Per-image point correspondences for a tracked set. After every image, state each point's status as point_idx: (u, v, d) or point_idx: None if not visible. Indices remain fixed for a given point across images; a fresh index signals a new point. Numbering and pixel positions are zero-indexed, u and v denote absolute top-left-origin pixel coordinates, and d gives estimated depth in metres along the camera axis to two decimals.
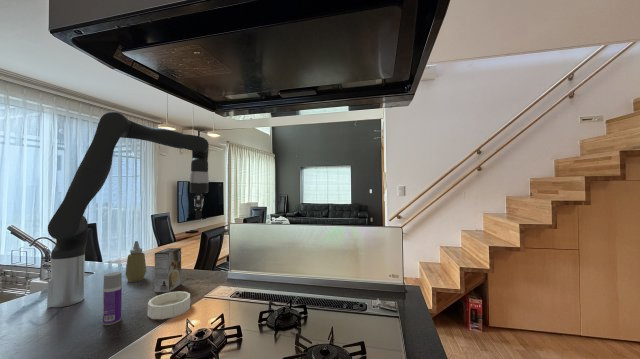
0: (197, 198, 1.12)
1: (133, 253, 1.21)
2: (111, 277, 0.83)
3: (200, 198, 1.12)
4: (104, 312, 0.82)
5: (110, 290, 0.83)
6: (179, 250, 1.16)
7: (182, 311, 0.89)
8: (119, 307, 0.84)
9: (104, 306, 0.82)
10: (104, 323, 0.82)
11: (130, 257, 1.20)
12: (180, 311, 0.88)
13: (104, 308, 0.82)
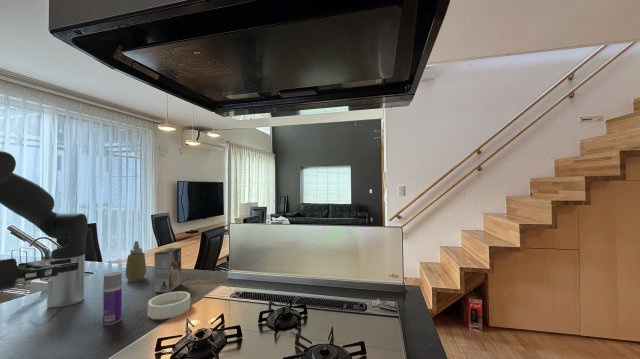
0: None
1: (133, 253, 1.21)
2: (111, 277, 0.83)
3: None
4: (104, 312, 0.82)
5: (110, 290, 0.83)
6: (179, 250, 1.16)
7: (182, 311, 0.89)
8: (119, 307, 0.84)
9: (104, 306, 0.82)
10: (104, 323, 0.82)
11: (130, 257, 1.20)
12: (180, 311, 0.88)
13: (104, 308, 0.82)
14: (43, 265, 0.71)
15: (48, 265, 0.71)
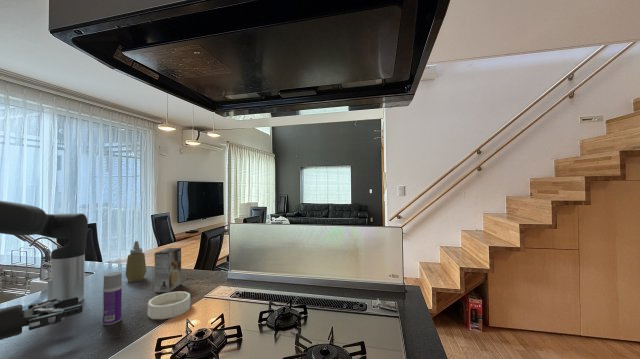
0: None
1: (133, 253, 1.21)
2: (111, 277, 0.83)
3: None
4: (104, 312, 0.82)
5: (110, 290, 0.83)
6: (179, 250, 1.16)
7: (182, 311, 0.89)
8: (119, 307, 0.84)
9: (104, 306, 0.82)
10: (104, 323, 0.82)
11: (130, 257, 1.20)
12: (180, 311, 0.88)
13: (104, 308, 0.82)
14: (48, 311, 0.71)
15: (53, 310, 0.72)
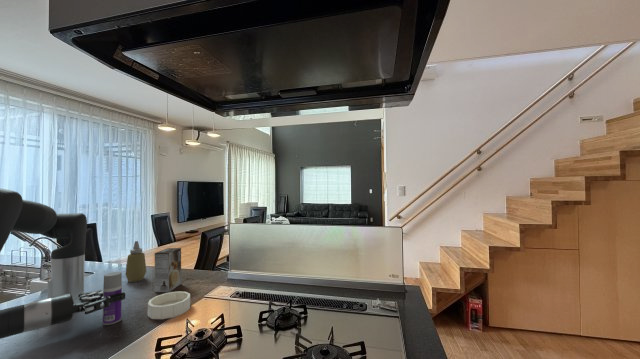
0: None
1: (133, 253, 1.21)
2: (111, 277, 0.83)
3: None
4: (104, 312, 0.82)
5: (110, 290, 0.83)
6: (179, 250, 1.16)
7: (182, 311, 0.89)
8: (119, 307, 0.84)
9: None
10: (104, 323, 0.82)
11: (130, 257, 1.20)
12: (180, 311, 0.88)
13: (104, 308, 0.82)
14: (96, 298, 0.80)
15: (100, 297, 0.80)
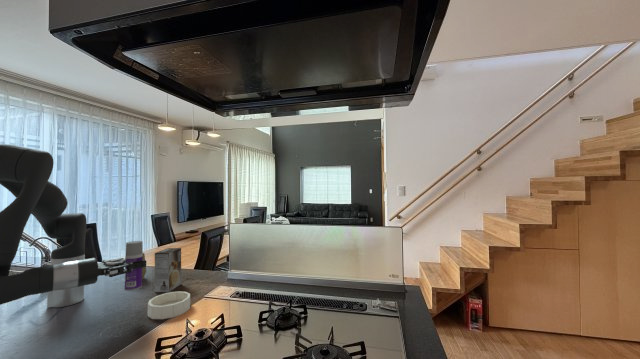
0: None
1: None
2: (133, 244, 0.85)
3: None
4: (126, 278, 0.85)
5: (132, 257, 0.85)
6: (179, 250, 1.16)
7: (182, 311, 0.89)
8: (140, 274, 0.87)
9: None
10: (126, 289, 0.85)
11: None
12: (180, 311, 0.88)
13: (126, 274, 0.85)
14: (119, 263, 0.82)
15: (123, 263, 0.83)
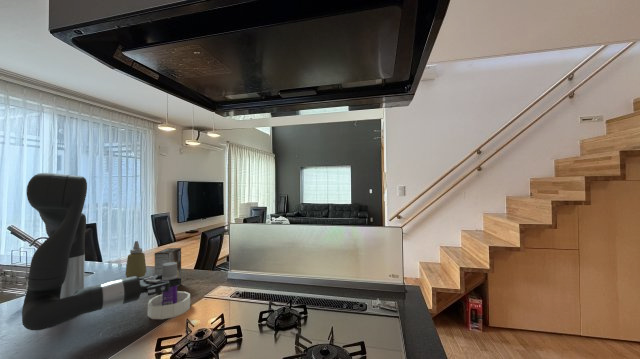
0: None
1: (133, 253, 1.21)
2: (169, 266, 0.90)
3: None
4: (163, 298, 0.90)
5: (169, 278, 0.90)
6: (179, 250, 1.16)
7: (182, 311, 0.89)
8: (176, 294, 0.92)
9: (163, 293, 0.90)
10: None
11: (130, 257, 1.20)
12: (180, 311, 0.88)
13: (163, 295, 0.90)
14: (157, 281, 0.86)
15: (161, 281, 0.86)
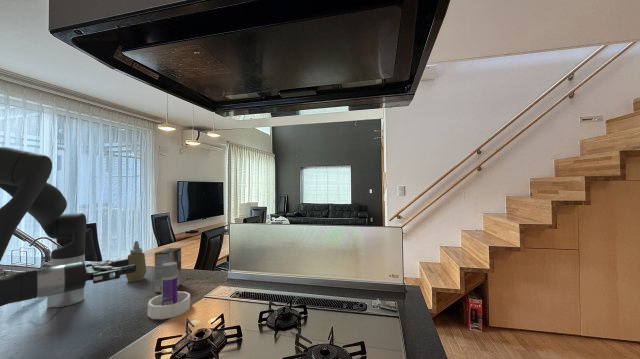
0: None
1: (133, 253, 1.21)
2: (169, 266, 0.90)
3: None
4: (163, 298, 0.90)
5: (169, 279, 0.90)
6: (179, 250, 1.16)
7: (182, 311, 0.89)
8: (176, 294, 0.92)
9: (163, 293, 0.90)
10: None
11: (130, 257, 1.20)
12: (180, 311, 0.88)
13: (163, 295, 0.90)
14: (107, 268, 0.77)
15: (111, 268, 0.77)
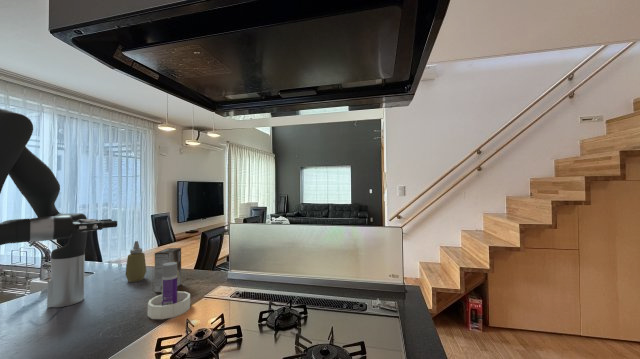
0: None
1: (133, 253, 1.21)
2: (169, 266, 0.90)
3: None
4: (163, 298, 0.90)
5: (169, 278, 0.90)
6: (179, 250, 1.16)
7: (182, 311, 0.89)
8: (176, 294, 0.92)
9: (163, 293, 0.90)
10: None
11: (130, 257, 1.20)
12: (180, 311, 0.88)
13: (163, 295, 0.90)
14: (91, 221, 0.89)
15: (95, 221, 0.90)
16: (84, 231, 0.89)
